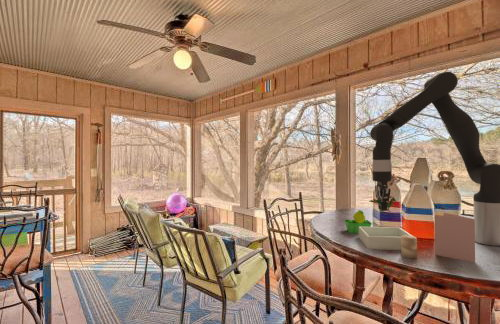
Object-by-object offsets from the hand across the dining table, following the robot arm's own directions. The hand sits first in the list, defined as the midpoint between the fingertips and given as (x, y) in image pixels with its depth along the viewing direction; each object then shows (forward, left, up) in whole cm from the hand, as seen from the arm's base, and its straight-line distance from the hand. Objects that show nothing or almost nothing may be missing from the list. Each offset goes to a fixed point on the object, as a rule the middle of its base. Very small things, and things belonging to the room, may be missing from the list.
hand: (382, 209), depth 114 cm
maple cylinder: (-4, +17, -14) cm, 22 cm away
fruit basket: (+7, -14, -14) cm, 22 cm away
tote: (0, +3, -14) cm, 14 cm away
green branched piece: (0, 0, -1) cm, 1 cm away
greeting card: (-19, +16, -14) cm, 28 cm away
